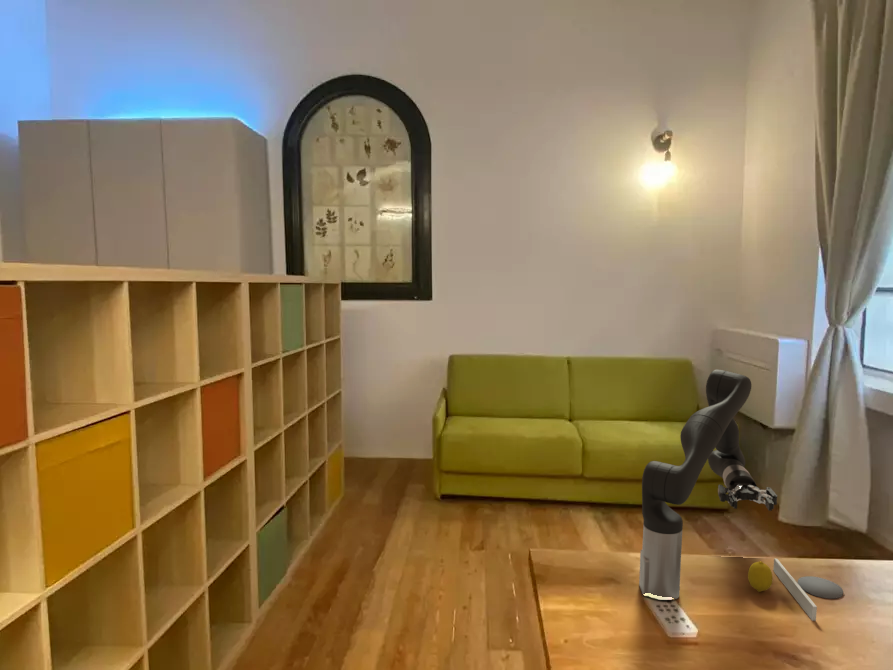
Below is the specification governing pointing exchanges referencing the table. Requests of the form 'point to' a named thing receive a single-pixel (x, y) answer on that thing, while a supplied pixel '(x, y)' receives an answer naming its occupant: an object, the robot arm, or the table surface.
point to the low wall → (795, 590)
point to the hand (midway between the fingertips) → (753, 506)
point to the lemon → (760, 576)
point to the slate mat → (820, 587)
